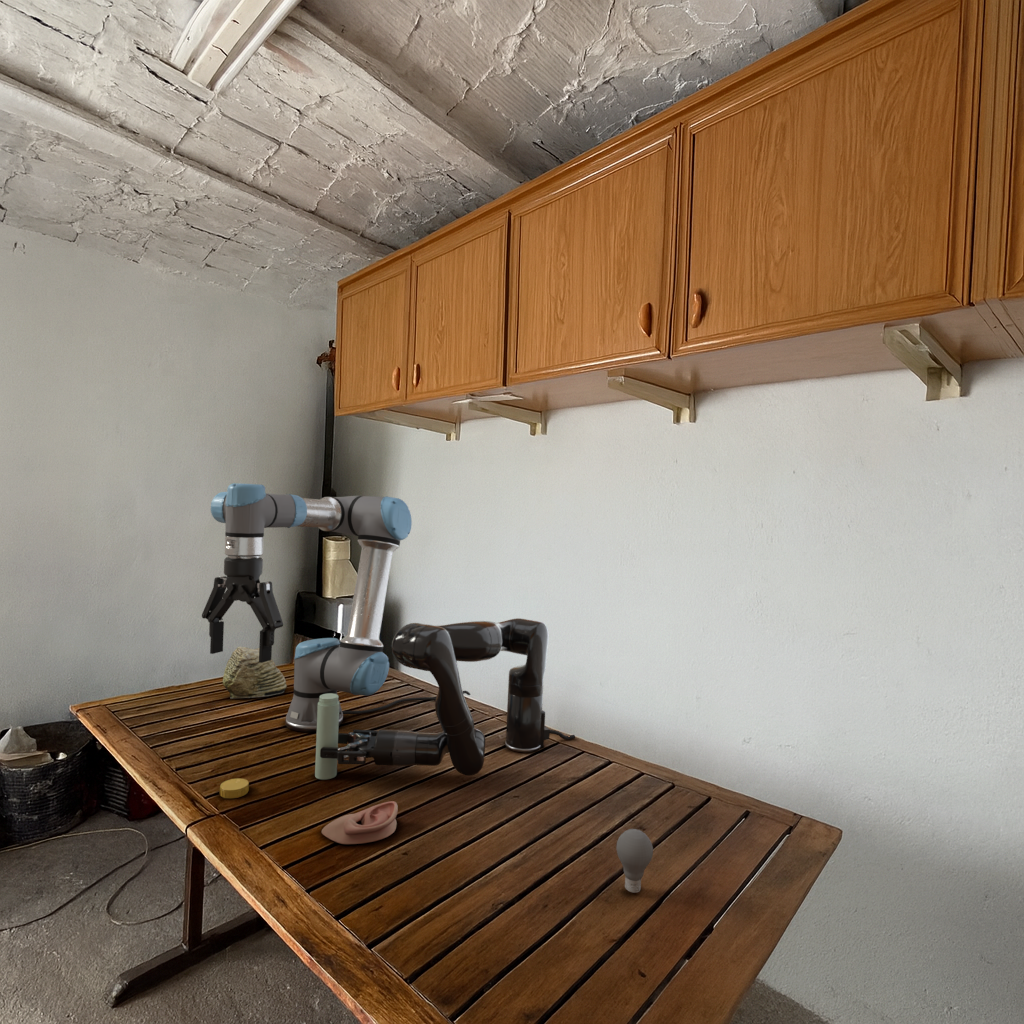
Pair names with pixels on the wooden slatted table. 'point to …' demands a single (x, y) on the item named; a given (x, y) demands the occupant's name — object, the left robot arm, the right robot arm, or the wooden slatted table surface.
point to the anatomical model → (364, 825)
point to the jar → (327, 734)
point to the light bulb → (634, 857)
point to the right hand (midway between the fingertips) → (326, 745)
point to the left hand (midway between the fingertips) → (240, 656)
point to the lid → (234, 788)
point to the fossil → (252, 675)
